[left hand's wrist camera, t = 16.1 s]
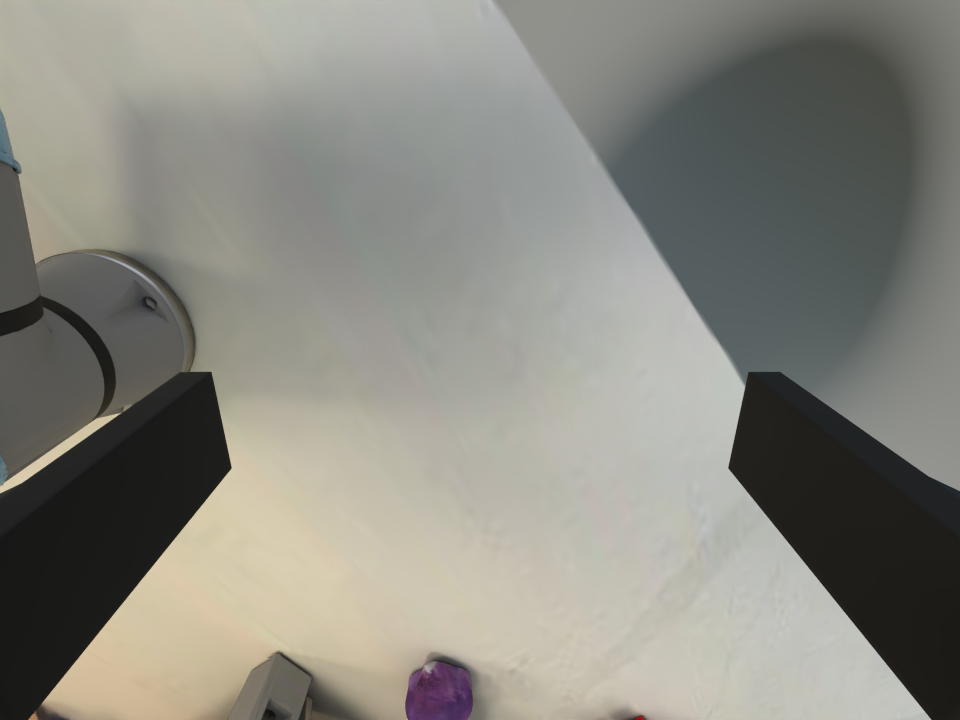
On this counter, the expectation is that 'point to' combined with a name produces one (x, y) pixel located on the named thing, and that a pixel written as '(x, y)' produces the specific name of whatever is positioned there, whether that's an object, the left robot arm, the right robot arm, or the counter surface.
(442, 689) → the figurine
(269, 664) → the grey record storage rack
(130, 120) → the counter surface
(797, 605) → the counter surface
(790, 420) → the left robot arm
